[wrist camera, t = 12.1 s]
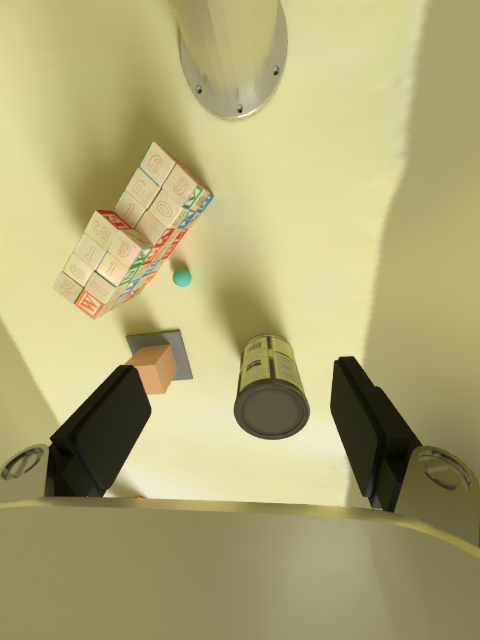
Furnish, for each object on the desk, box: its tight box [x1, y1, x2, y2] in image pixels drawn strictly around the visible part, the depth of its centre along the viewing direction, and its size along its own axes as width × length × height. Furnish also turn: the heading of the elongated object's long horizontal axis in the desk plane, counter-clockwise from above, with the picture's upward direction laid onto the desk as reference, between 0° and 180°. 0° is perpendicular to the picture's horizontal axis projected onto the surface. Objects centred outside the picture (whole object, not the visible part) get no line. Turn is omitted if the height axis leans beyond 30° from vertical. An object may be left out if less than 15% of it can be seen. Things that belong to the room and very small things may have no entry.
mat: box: [126, 331, 193, 381], centre depth 45 cm, size 11×11×1 cm
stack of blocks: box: [53, 142, 214, 319], centre depth 30 cm, size 21×6×12 cm, turn 137°
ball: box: [173, 269, 191, 287], centre depth 37 cm, size 3×3×3 cm
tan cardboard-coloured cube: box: [124, 344, 178, 395], centre depth 41 cm, size 6×6×7 cm
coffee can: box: [234, 334, 310, 440], centre depth 36 cm, size 10×10×14 cm
